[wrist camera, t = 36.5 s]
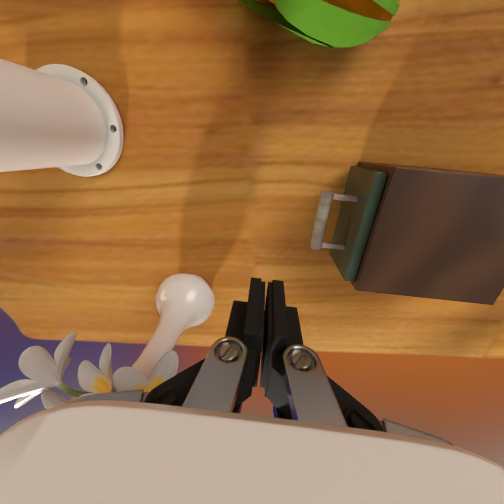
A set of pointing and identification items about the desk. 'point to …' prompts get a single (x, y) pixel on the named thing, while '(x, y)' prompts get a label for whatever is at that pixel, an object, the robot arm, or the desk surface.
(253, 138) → the desk surface
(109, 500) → the robot arm
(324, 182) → the desk surface
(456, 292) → the cabinet
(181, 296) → the flower vase
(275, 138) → the desk surface
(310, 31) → the corn
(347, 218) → the drawer
